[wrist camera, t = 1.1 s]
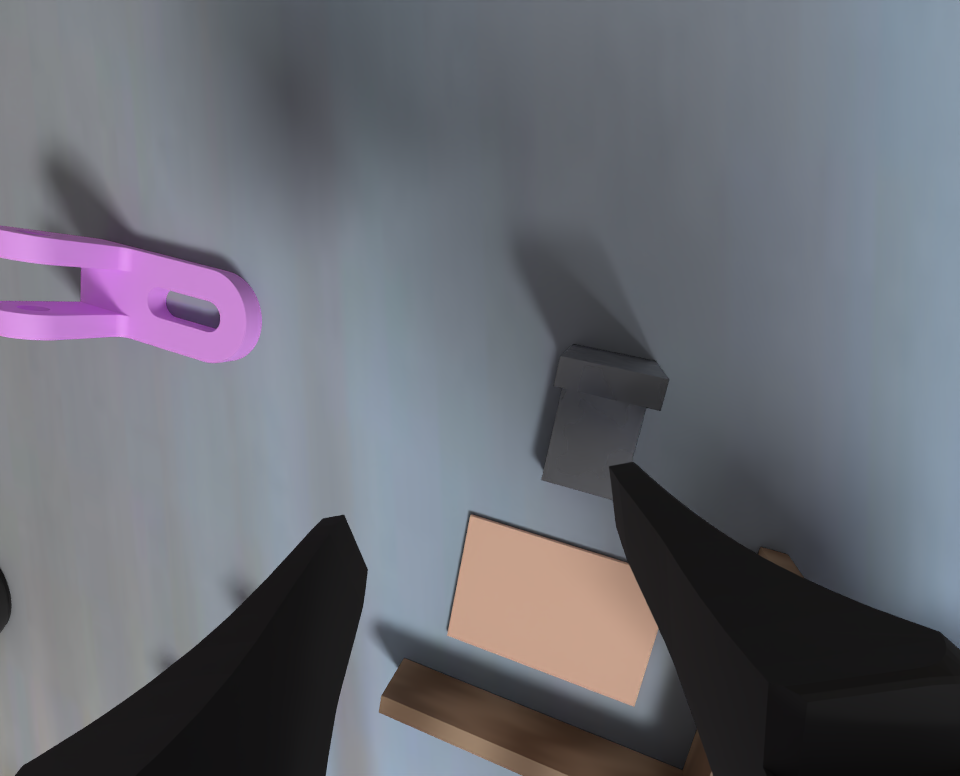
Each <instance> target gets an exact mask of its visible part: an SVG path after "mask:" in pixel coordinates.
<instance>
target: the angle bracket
mask: <svg viewBox="0 0 960 776" xmlns="http://www.w3.org/2000/svg"><path fill="white" fill-rule="evenodd" d="M668 382H669V378H668V377H667V376H666V374H665V373H664V371H663V370H662V369H661V367H660V366H659V364H658V363H657V362H656V361H653V360H649V359H644V358H639V357H634V356H629V355H625V354H620V353H615V352H610V351H605V350H600V349H596V348H591V347H586V346H581V345H576V344H573V345H572V346H571V347H570V348H569V349H567V350H566V351H565V352H564V353H563V354H562V355H561V356H560V359H559V363H558V368H557V372H556V377H555V381H554V386H555V387H559V388H562V391H561V395H560V400H559V404H558V408H557V413H556V417H555V422H554V426H553V431H552V435H551V440H550V444H549V449H548V453H547V457H546V462H545V466H544V471H543V475H542V480H543V481H547V482H550V483H554V484H557V485H561V486H565V487H568V488H572V489H575V490H579V491H582V492H586V493H589V494H593V495H597V496H600V497H604V498H607V499H611V500H613V496H612V488H611V480H610V472H609V466H612V465H618V464H623V463H629V462H632V459H633V456H634V452H635V448H636V444H637V441H638V437H639V433H640V430H641V426H642V422H643V418H644V415H645V411H646V408H650V409H654V410H659V411H661V408H662V404H663V401H664V397H665V393H666V390H667V386H668Z"/></svg>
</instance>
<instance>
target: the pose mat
mask: <svg viewBox="0 0 960 776" xmlns="http://www.w3.org/2000/svg"><path fill="white" fill-rule="evenodd" d="M657 631H658V626H657V624H656V622H655V620H654V618H653V615H652V613H651V611H650V609H649V607H648V605H647V603H646V600H645V598H644V596H643V594H642V592H641V590H640V587H639V585H638V583H637V581H636V579H635V577H634V574H633V572H632V570H631V568H630V566H629V563H627V562H623V561H620V560H617V559H614V558H611V557H607V556H604V555H601V554H598V553H595V552H591V551H588V550H585V549H582V548H578V547H575V546H572V545H569V544H566V543H562V542H559V541H556V540H553V539H550V538H546V537H543V536H540V535H537V534H533V533H530V532H527V531H524V530H521V529H517V528H514V527H511V526H508V525H505V524H501V523H498V522H495V521H492V520H488V519H485V518H482V517H479V516H476V515H472V514H471V515H470V520H469V525H468V530H467V535H466V540H465V546H464V551H463V556H462V561H461V567H460V572H459V577H458V582H457V587H456V593H455V598H454V603H453V608H452V613H451V619H450V624H449V629H448V634H447V635H448V636H450V637H453V638H455V639H458V640H461V641H463V642H466V643H469V644H471V645H474V646H476V647H479V648H482V649H484V650H487V651H490V652H492V653H495V654H497V655H500V656H503V657H505V658H508V659H511V660H513V661H516V662H518V663H521V664H524V665H526V666H529V667H532V668H534V669H537V670H539V671H542V672H545V673H547V674H550V675H552V676H555V677H558V678H560V679H563V680H566V681H568V682H571V683H573V684H576V685H579V686H581V687H584V688H587V689H589V690H592V691H594V692H597V693H600V694H602V695H605V696H608V697H610V698H613V699H615V700H618V701H621V702H623V703H626V704H628V705H631V706H635V703H636V699H637V696H638V693H639V690H640V686H641V683H642V680H643V677H644V673H645V670H646V667H647V664H648V660H649V657H650V654H651V651H652V647H653V644H654V641H655V638H656V634H657Z"/></svg>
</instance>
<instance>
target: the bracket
mask: <svg viewBox="0 0 960 776" xmlns="http://www.w3.org/2000/svg"><path fill="white" fill-rule="evenodd" d="M0 257H1V258H6V259H11V260H17V261H23V262H30V263H38V264H46V265H57V266H70V267H81V302H55V301H0V336H4V337H10V338H17V339H28V340H65V339H82V338H99V337H127V338H130V339H134V340H137V341H140V342H143V343H146V344H150V345H153V346H156V347H159V348H162V349H165V350H169V351H172V352H175V353H178V354H181V355H185V356H188V357H191V358H194V359H197V360H200V361H204V362H208V363H219V362H227V361H234V360H238V359H241V358H243V357H245V356H246V355H247V354H249V353H250V352H251V351H252V350H253V348H254V347H255V345H256V343H257V341H258V339H259V336H260V332H261V326H262V316H261V309H260V305H259V302H258V299H257V297H256V295H255V293H254V291H253V290H252V288H251V287H250V286H249V284H248V283H247V282H246V281H245V280H244V279H242V278H241V277H240V276H238V275H237V274H234V273H232V272H229V271H225V270H221V269H218V268H214V267H210V266H206V265H202V264H198V263H194V262H190V261H186V260H182V259H178V258H174V257H171V256H167V255H163V254H159V253H155V252H151V251H147V250H143V249H139V248H135V247H131V246H127V245H123V244H120V243H116V242H112V241H108V240H104V239H98V238H90V237H83V236H75V235H68V234H60V233H53V232H45V231H38V230H30V229H23V228H15V227H7V226H0ZM169 291H174V292H177V293H181V294H184V295H188V296H192V297H195V298H199V299H203V300H206V301H210V302H212V303H213V304H214V305H215V306H216V307H217V308H218V310H219V313H220V324H219V326H218V328H217V329H215V328H211V327H208V326H205V325H201V324H198V323H194V322H191V321H187V320H184V319H181V318H177V317H175V316H173V315H172V314H171V313H170V312H169V310H168V308H167V305H166V297H167V294H168V292H169Z"/></svg>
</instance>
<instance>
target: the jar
mask: <svg viewBox="0 0 960 776" xmlns="http://www.w3.org/2000/svg"><path fill="white" fill-rule="evenodd" d="M10 614H11V596H10V591H9V588H8V585H7V582H6V580H5V577H4V575H3V573H2V572H1V570H0V632H1V631H2V630H3V628H4V627H5V625H6V624H7V622H8V620H9V618H10Z"/></svg>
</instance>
